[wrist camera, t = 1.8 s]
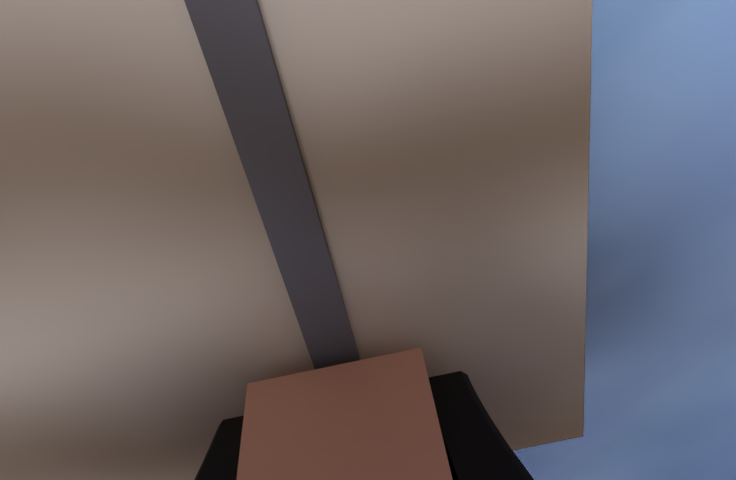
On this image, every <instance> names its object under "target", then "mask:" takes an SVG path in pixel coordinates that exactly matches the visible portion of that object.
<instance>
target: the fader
mask: <svg viewBox="0 0 736 480" xmlns="http://www.w3.org/2000/svg"><path fill="white" fill-rule="evenodd" d="M236 480H453V479H452V475H451V471H450V467H449V462H448V458H447V454H446V450H445V446H444V441H443V437H442V433H441V429H440V425H439V420H438V416H437V412H436V408H435V403H434V399H433V395H432V391H431V387H430V382H429V378H428V374H427V370H426V366H425V361H424V357H423V353H422V349H421V348H416V349H411V350H406V351H402V352H397V353H392V354H387V355H382V356H378V357H373V358H368V359H363V360H358V361H353V362H349V363H344V364H339V365H334V366H329V367H325V368H320V369H315V370H310V371H305V372H301V373H296V374H291V375H286V376H281V377H276V378H272V379H267V380H262V381H257V382H252V383H248V384H247V391H246V400H245V409H244V418H243V426H242V435H241V444H240V453H239V461H238V470H237V479H236Z"/></svg>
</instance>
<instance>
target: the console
mask: <svg viewBox="0 0 736 480" xmlns="http://www.w3.org/2000/svg"><path fill="white" fill-rule="evenodd" d="M591 47H592V0H0V480H194V479H195V477H196V475H197V473H198V471H199V469H200V467H201V464H202V462H203V460H204V458H205V456H206V453H207V451H208V449H209V447H210V444H211V442H212V440H213V438H214V435H215V433H216V431H217V429H218V426H219V425H220V423H221V422H222V421H223V420H224V419H229V418H234V417H239V416H244V409H245V400H246V391H247V384H248V383H252V382H257V381H262V380H267V379H272V378H276V377H281V376H286V375H291V374H296V373H301V372H305V371H310V370H315V369H320V368H325V367H329V366H334V365H339V364H344V363H349V362H353V361H358V360H363V359H368V358H373V357H378V356H382V355H387V354H392V353H397V352H402V351H406V350H411V349H416V348H421V349H422V353H423V357H424V361H425V366H426V370H427V374H428V377H433V376H438V375H443V374H448V373H453V372H457V371H462V372H464V373H466V374H467V375H468V377H469V379H470V382H471V384H472V386H473V388H474V390H475V391H476V393H477V395H478V397H479V399H480V401H481V402H482V404H483V406H484V408H485V409H486V411H487V413H488V414H489V416H490V417H491V419H492V421H493V422H494V424H495V425H496V427H497V428H498V430H499V431H500V433H501V434H502V436H503V437H504V439H505V440H506V442H507V443H508V445H509V446H510V448H511V449H512V450H517V449H522V448H527V447H532V446H537V445H542V444H547V443H552V442H557V441H562V440H567V439H572V438H577V437H582V436H583V427H584V379H585V332H586V284H587V237H588V189H589V142H590V94H591Z"/></svg>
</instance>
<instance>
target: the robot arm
mask: <svg viewBox="0 0 736 480" xmlns="http://www.w3.org/2000/svg"><path fill="white" fill-rule="evenodd" d="M428 378H429V382H430V387H431V391H432V395H433V399H434V403H435V408H436V412H437V416H438V420H439V425H440V429H441V433H442V437H443V441H444V446H445V450H446V454H447V458H448V462H449V467H450V471H451V475H452V479H453V480H534V479H533V478H532V477H531V475H530V474H529V472H528V471H527V470H526V468H525V467H524V466H523V464H522V463H521V462H520V460H519V459H518V457H517V456H516V455H515V453H514V452H513V451H512V449H511V448H510V446H509V445H508V443H507V442H506V440H505V439H504V437H503V436H502V434H501V433H500V431H499V430H498V428H497V427H496V425H495V424H494V422H493V421H492V419H491V417H490V416H489V414H488V413H487V411H486V409H485V408H484V406H483V404H482V402H481V401H480V399H479V397H478V395H477V393H476V391H475V390H474V388H473V386H472V384H471V382H470V379H469V377H468V375H467V374H466V373H464V372H462V371H457V372H453V373H448V374H443V375H438V376H433V377H428ZM243 418H244V416H239V417H234V418H229V419H224V420H223V421H222V422H221V423H220V425H219V426H218V429H217V431H216V433H215V435H214V438H213V440H212V442H211V444H210V447H209V449H208V451H207V453H206V456H205V458H204V460H203V462H202V464H201V467H200V469H199V471H198V473H197V475H196V477H195V479H194V480H236V479H237V470H238V461H239V453H240V444H241V435H242V426H243Z"/></svg>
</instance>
